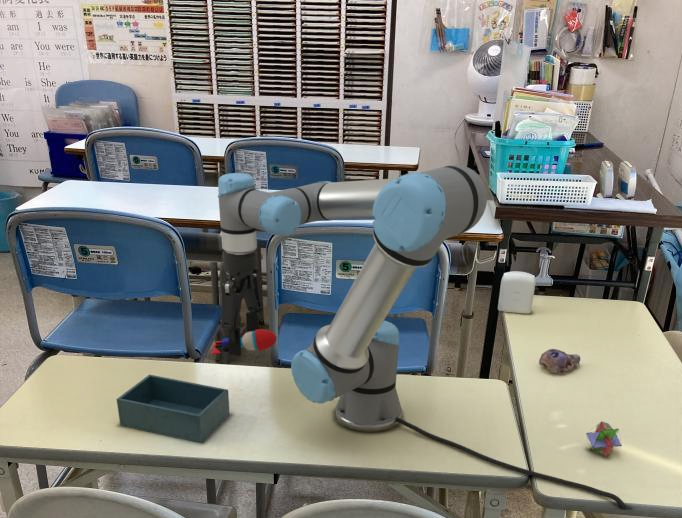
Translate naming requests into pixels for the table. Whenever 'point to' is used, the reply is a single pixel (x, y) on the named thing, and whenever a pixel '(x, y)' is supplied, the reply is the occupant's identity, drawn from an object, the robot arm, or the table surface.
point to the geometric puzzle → (604, 438)
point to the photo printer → (516, 292)
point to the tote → (174, 408)
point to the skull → (558, 361)
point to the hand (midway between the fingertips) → (244, 346)
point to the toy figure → (250, 341)
